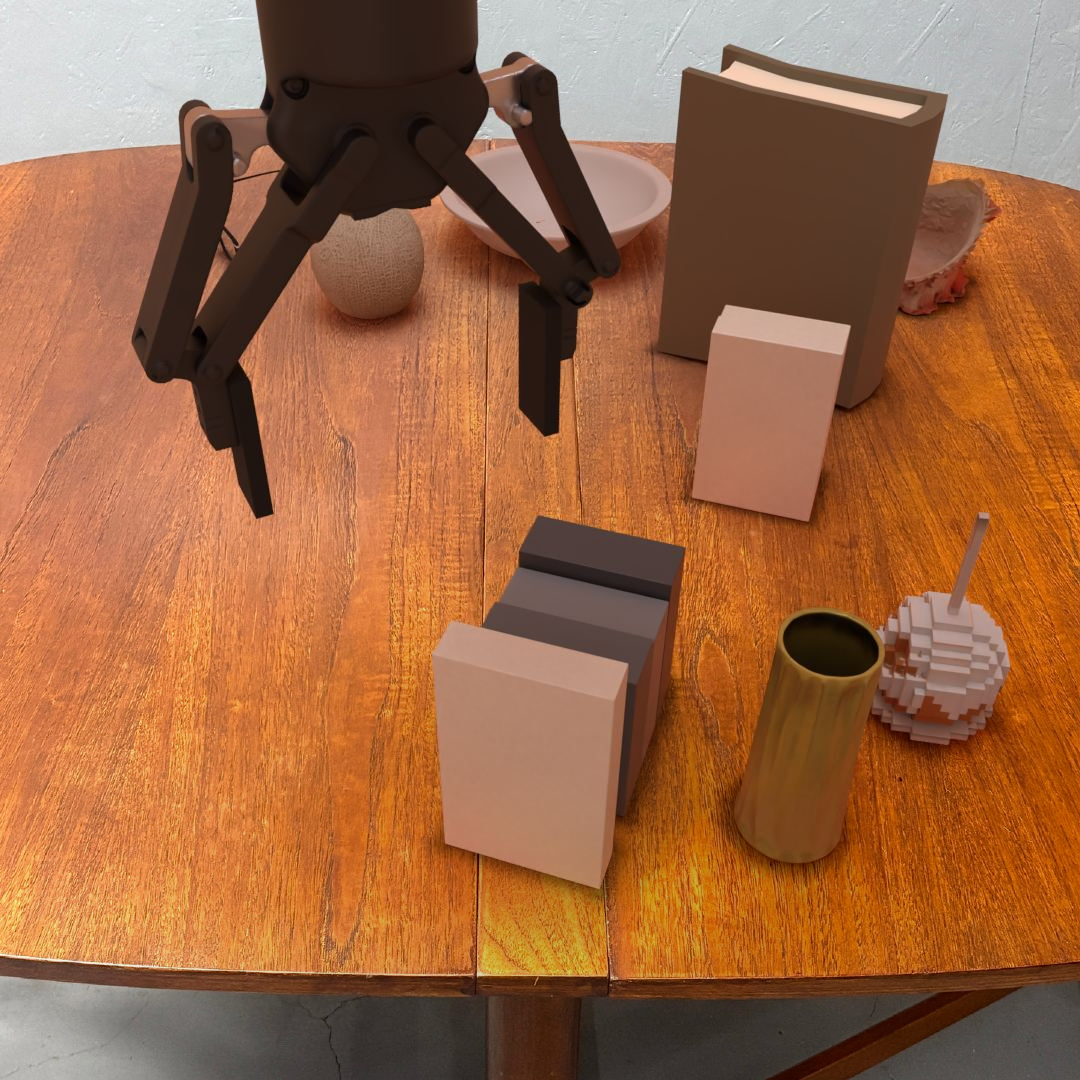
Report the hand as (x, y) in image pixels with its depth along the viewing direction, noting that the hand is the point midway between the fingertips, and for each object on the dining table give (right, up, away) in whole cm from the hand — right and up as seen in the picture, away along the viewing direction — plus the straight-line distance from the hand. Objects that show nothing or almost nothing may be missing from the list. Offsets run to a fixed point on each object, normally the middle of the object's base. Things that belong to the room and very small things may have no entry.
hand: (403, 458), depth 52 cm
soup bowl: (+8, +27, +70) cm, 76 cm away
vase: (+20, -20, +14) cm, 32 cm away
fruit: (-10, +19, +59) cm, 63 cm away
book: (+27, +12, +53) cm, 61 cm away
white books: (+23, 0, +38) cm, 44 cm away
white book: (+5, -21, +12) cm, 25 cm away
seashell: (+42, +23, +66) cm, 82 cm away
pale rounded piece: (+30, -14, +21) cm, 39 cm away
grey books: (+8, -15, +19) cm, 26 cm away
